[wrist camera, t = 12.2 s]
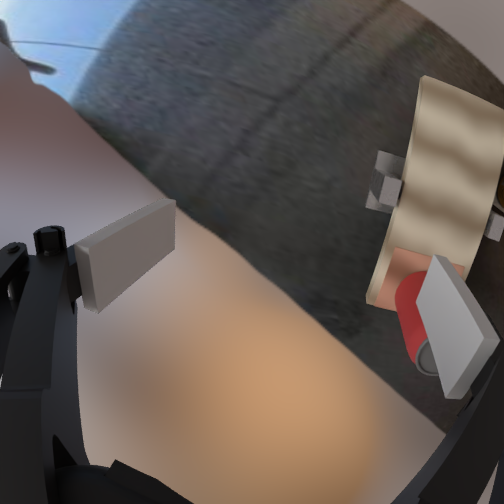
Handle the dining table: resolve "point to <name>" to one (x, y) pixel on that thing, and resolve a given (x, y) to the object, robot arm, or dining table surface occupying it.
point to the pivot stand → (388, 188)
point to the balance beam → (441, 187)
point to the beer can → (414, 324)
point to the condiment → (500, 191)
